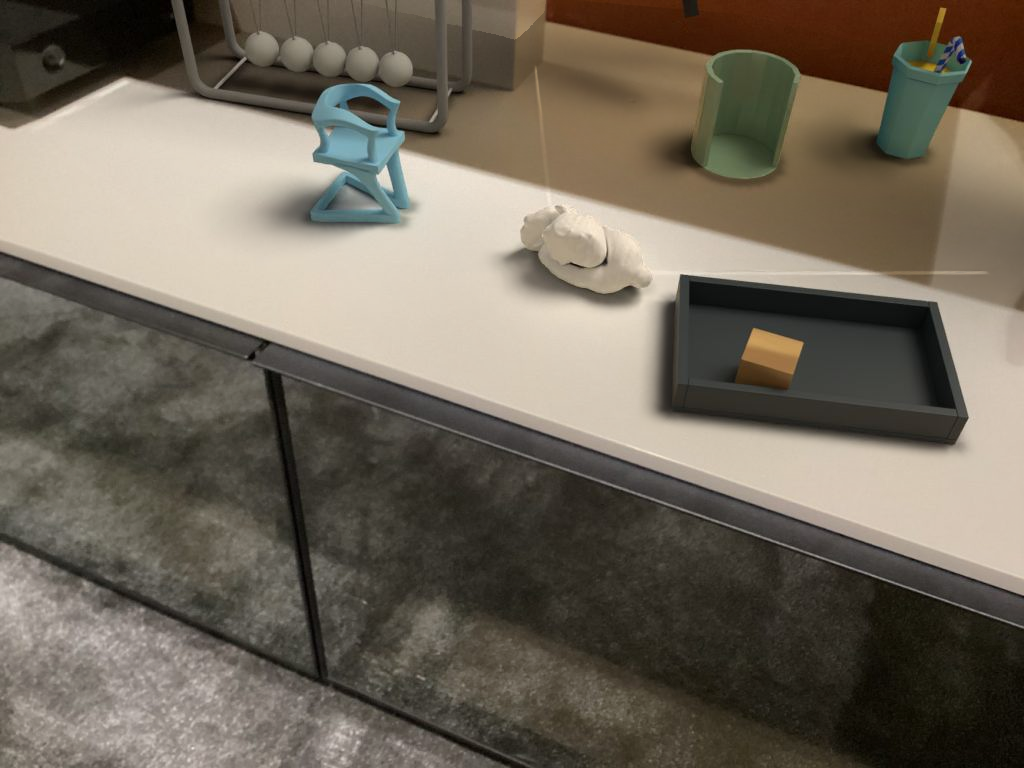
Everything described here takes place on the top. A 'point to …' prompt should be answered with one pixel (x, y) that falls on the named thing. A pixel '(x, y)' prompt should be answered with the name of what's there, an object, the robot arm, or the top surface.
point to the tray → (818, 359)
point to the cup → (920, 92)
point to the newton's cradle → (336, 63)
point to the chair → (359, 155)
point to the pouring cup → (744, 113)
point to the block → (768, 360)
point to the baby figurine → (584, 250)
